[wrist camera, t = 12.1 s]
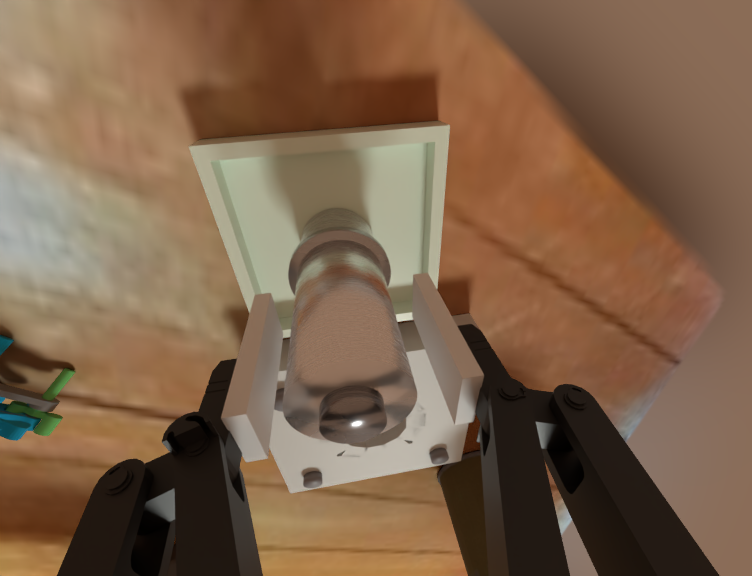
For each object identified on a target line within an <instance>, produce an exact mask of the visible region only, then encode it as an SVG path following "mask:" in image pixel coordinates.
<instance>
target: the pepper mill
mask: <svg viewBox="0 0 752 576" xmlns="http://www.w3.org/2000/svg"><path fill="white" fill-rule="evenodd" d="M390 278H391V267H390V263H389V260H388V257H387V254H386V252H385V250H384V248H383V247H382V245H381V244H380V243H379V242H378V241H377V240H376V239H375V238H374V237H373V235H372V231H371V229H370V226H369V225H368V223H367V222H366V221H365V219H364V218H362V217H361V216H360V215H359V214H357V213H355V212H353V211H351V210H348V209H343V208H331V209H327V210H323V211H321V212H319V213H317V214H315V215H314V216H313V217H312V218H311V219H310V220H309V221H308V222H307V223H306V225H305V227H304V229H303V232H302V236H301V243H300V244H299V245H298V246H297V247H296V249H295V250H294V252H293V254H292V256H291V260H290V264H289V271H288V280H289V285H290V288H291V290H292V292H293V294H294V295H295V298H294V307H293V316H292V325H291V334H290V343H289V352H288V361H287V370H286V379H285V387H284V396H283V405H282V406H283V414H284V417H285V419H286V421H287V422H288V423H289V424H290V426H292V427H293V428H294V429H295V430H297V431H298V432H300V433H302V434H304V435H306V436H309V437H312V438H315V439H319V440H325V441H332V442H335V443H341V444H353V443H359V442H363V441H366V440H369V439H372V438H374V437H375V436H377V435H379V434H381V433H383V432H386V431H388V430H390V429H391V428H393V427H395V426H396V425H398V424H399V423H401V422H402V421H403V420H404V419H405V418H406V417H407V416H408V415H409V414H410V413H411V411H412V410H413V408H414V406H415V404H416V401H417V388H416V385H415V381H414V378H413V374H412V371H411V367H410V364H409V360H408V357H407V353H406V350H405V346H404V343H403V339H402V336H401V332H400V329H399V325H398V322H397V319H396V315H395V312H394V308H393V305H392V301H391V298H390V294H389V291H388V286H389V283H390Z"/></svg>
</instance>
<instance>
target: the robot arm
mask: <svg viewBox="0 0 752 576" xmlns="http://www.w3.org/2000/svg"><path fill="white" fill-rule="evenodd" d="M412 317H413V319H414V322H415V325H416V327H417V330H418V332H419V335H420V337H421V340H422V343H423V345H424V348H425V350H426V353H427V355H428V358H429V360H430V363H431V366H432V368H433V371H434V373H435V376H436V378H437V381H438V384H439V386H440V389H441V391H442V394H443V396H444V399H445V401H446V404H447V407H448V409H449V412H450V414H451V417H452V419H453V422H454V425H459V424H465V423H470V422H474V418H475V414H476V415H477V417H478V419H479V421H480V428H479V432H478V436H477V442H480V450H481V465H482V481H483V496H484V512H485V527H486V543H487V558H488V574H489V576H570V573H569V569H568V564H567V560H566V555H565V551H564V546H563V542H562V537H561V533H560V528H559V524H558V519H557V515H556V511H555V506H554V502H553V497H552V493H551V488H550V484H549V479H548V475H547V470H546V466H545V462H546V464H547V466H548V468H549V471H550V473H551V475H552V477H553V479H554V481H555V483H556V486H557V488H558V490H559V492H560V494H561V496H562V498H563V501H564V503H565V505H566V507H567V509H568V511H569V513H570V516H571V518H572V520H573V522H574V524H575V526H576V528H577V531H578V533H579V535H580V537H581V539H582V541H583V543H584V546H585V548H586V549H587V552H588V554H589V556H590V558H591V561H592V563H593V565H594V567H595V569H596V571H597V573H598V576H719V574H718V573H717V572H716V570H715V569H714V567H713V566H712V564H711V563H710V562H709V560H708V559H707V557H706V556H705V555H704V553H703V552H702V550H701V549H700V547H699V546H698V545H697V543H696V542H695V540H694V539H693V537H692V536H691V535H690V533H689V532H688V530H687V529H686V528H685V526H684V525H683V523H682V522H681V521H680V519H679V518H678V516H677V515H676V513H675V512H674V510H673V509H672V508H671V506H670V505H669V504H668V502H667V501H666V499H665V498H664V497H663V495H662V494H661V492H660V491H659V489H658V488H657V486H656V485H655V484H654V482H653V481H652V479H651V478H650V476H649V475H648V474H647V472H646V471H645V469H644V468H643V467H642V465H641V464H640V462H639V461H638V459H637V458H636V457H635V455H634V454H633V452H632V451H631V450H630V448H629V447H628V445H627V444H626V442H625V441H624V440H623V438H622V437H621V435H620V434H619V432H618V431H617V430H616V428H615V427H614V425H613V424H612V422H611V421H610V420H609V418H608V417H607V415H606V414H605V413H604V411H603V410H602V408H601V407H600V405H599V404H598V403H597V401H596V400H595V398H594V397H593V396H592V395H591V394H590V393H589V392H587V391H586V390H584V389H582V388H581V387H578V386H575V385H571V384H563V385H559V386H558V387H557V388H556V389H555V390H554V392H546V391H538V390H532V389H528V388H526V387H525V386H524V385H523V384H522V383H520V382H519V381H517V380H515V379H512V378H511V377H510V376H509V374H508V373H507V371H506V369H505V368H504V366H503V365H502V363H501V362H500V360H499V358H498V357H497V355H496V354H495V352H494V351H493V349H492V348H491V346H490V344H489V343H488V342H487V339H486V338H485V336H484V335H483V333H482V332H481V330H479V329H478V328H477V327H475V326H474V325H473V324H466V325H459V326H457V325H456V323H455V321H454V319H453V318H452V316H451V314H450V312H449V310H448V308H447V307H446V305H445V303H444V301H443V299H442V298H441V296H440V294H439V292H438V290H437V289H436V287H435V285H434V283H433V281H432V279H431V278H430V276H429V274H428V273H421V274H414V275H413V303H412ZM282 342H283V331H282V328H281V325H280V321H279V318H278V314H277V311H276V308H275V304H274V301H273V298H272V294H271V293H265V294H257V295H255V296H254V300H253V303H252V307H251V310H250V314H249V318H248V321H247V325H246V329H245V332H244V336H243V339H242V343H241V347H240V350H239V354H238V358H237V359H231V360H225V361H221V362H220V363H219V364H218V365H217V367H216V368H215V369H214V370H213V371H212V374H211V377H210V380H209V385H208V386H207V388H206V391H205V394H204V397H203V400H202V403H201V406H200V409H199V411H198V412H192V413H188V414H185V415H183V416H182V417H180V418H178V419H176V420H175V421H174V422H173V423H172V424H171V425H170V426H169V427H168V429H167V430H166V432H165V433H164V436H163V440H162V443H163V444H164V445H165V446H166V448H167V449H168V450H169V451H170V452H169V453H167V454H165V455H163V456H161V457H159V458H156V459H154V460H152V461H150V462H148V463H145V464H144V463H143V462H142V461H141V460H138V459H128V460H125V461H123V462H120V463H118V464H116V465H115V466H114V467H112V468H111V469H109V470H108V471H107V472H106V473H105V474H104V475H103V476H102V477H101V478H100V479H99V481H98V483H97V484H96V486H95V488H94V489H93V492H92V494H91V496H90V499H89V501H88V504H87V506H86V508H85V511H84V513H83V515H82V518H81V520H80V522H79V525H78V527H77V529H76V532H75V534H74V537H73V539H72V541H71V544H70V546H69V548H68V551H67V553H66V555H65V558H64V560H63V562H62V565H61V567H60V570H59V572H58V574H57V576H263V574H262V569H261V564H260V559H259V554H258V549H257V544H256V539H255V534H254V529H253V524H252V519H251V514H250V509H249V504H248V499H247V494H246V489H245V484H244V478H243V474H242V472H241V470H240V468H239V467H240V462H241V457H242V456H243V458H244V459H245V461H246V462H251V461H257V460H262V459H268V453H269V445H270V437H271V429H272V421H273V413H274V405H275V397H276V389H277V381H278V373H279V365H280V358H281V350H282ZM544 460H545V461H544ZM175 535H176V545H174V540H175Z"/></svg>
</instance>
